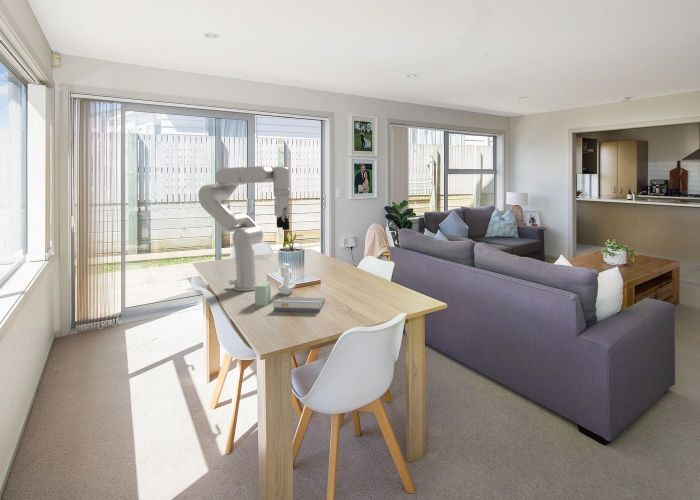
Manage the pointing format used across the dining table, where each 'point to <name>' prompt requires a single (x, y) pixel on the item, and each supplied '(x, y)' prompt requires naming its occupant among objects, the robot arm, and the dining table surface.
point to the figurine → (286, 280)
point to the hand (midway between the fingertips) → (282, 228)
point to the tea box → (262, 293)
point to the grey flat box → (299, 304)
